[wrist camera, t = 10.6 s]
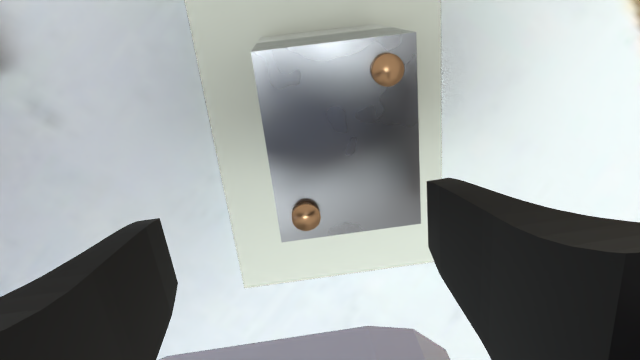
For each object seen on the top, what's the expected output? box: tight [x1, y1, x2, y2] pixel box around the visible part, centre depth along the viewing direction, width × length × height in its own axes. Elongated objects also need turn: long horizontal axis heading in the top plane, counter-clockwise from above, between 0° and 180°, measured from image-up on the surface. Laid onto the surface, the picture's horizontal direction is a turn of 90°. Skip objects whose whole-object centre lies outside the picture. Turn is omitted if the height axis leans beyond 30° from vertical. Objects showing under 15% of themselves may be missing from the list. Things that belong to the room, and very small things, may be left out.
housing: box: [251, 24, 421, 242], centre depth 16 cm, size 5×6×6 cm
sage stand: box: [184, 0, 442, 288], centre depth 20 cm, size 10×18×2 cm, turn 6°
